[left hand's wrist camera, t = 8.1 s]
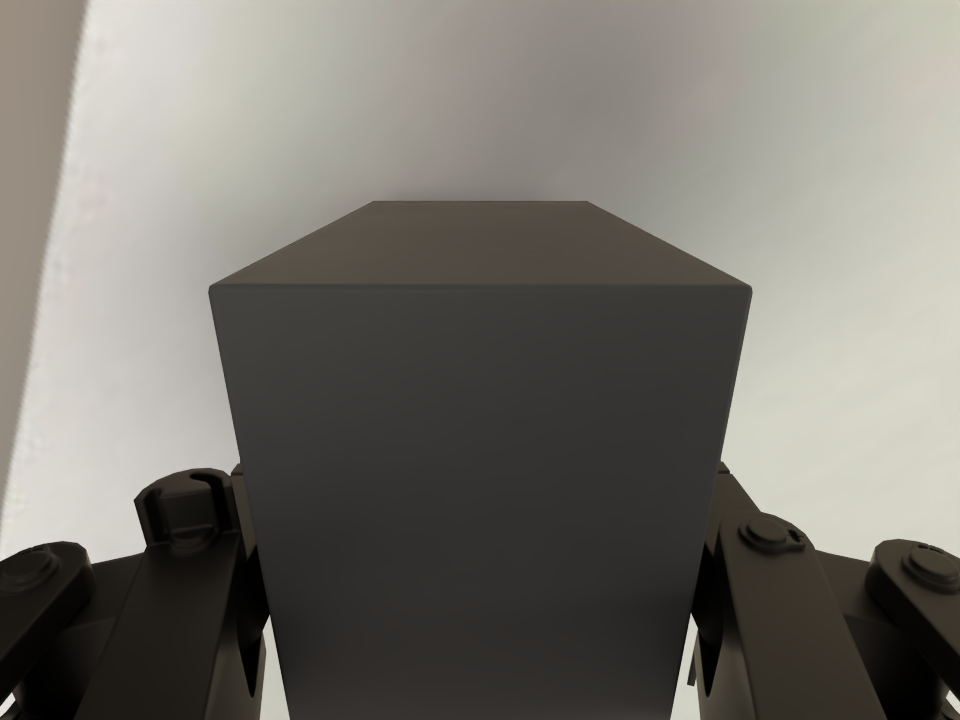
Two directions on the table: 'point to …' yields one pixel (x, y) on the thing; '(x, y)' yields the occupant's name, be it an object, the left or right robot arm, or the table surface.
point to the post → (480, 456)
